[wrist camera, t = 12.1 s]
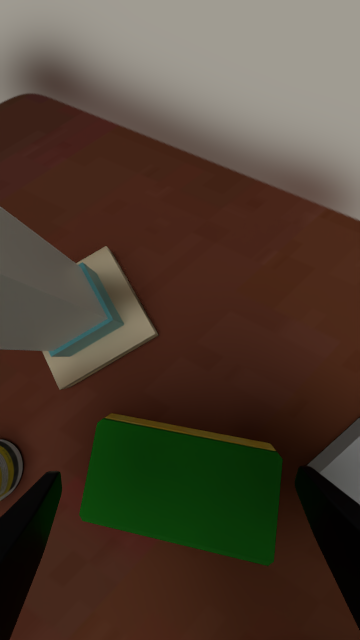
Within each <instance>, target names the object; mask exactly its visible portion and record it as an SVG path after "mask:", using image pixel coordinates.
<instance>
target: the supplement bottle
mask: <svg viewBox="0 0 360 640" xmlns="http://www.w3.org/2000/svg"><path fill="white" fill-rule="evenodd" d="M22 470H23V462H22V457H21V454H20V452H19V451H18V449H17V448H16V447H15V446H14V445H13V444H12V443H10V442H8V441H6V440H1V439H0V501H1V500H3V499H4V498H5V497H7V496H8V495H9V494H10V493H11V492H12V491H13V490H14V489H15V488H16V486H17V484H18V482H19V480H20V478H21V475H22Z"/></svg>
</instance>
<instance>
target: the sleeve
mask: <svg viewBox="0 0 360 640" xmlns="http://www.w3.org/2000/svg"><path fill="white" fill-rule="evenodd" d="M123 325H124V323H123V321H122V319H121V317H120V315H119V314H118V312H117V310H116V308H115V306H114V304H113V303H112V301H111V299H110V297H109V295H108V293H107V291H106V290H105V288H104V286H103V284H102V282H101V280H100V279H99V277H98V275H97V273H95V272H94V271H93V270H92V269H90V268H89V267H88V266H87V265H86V264H84V263H83V262H82V263H80V264H78V265H77V264H76V263H75V262H73V261H72V260H71V259H69V258H68V257H67V256H65V255H64V254H63V253H61V252H60V251H59V250H57V249H56V248H55V247H53V246H52V245H51V244H49V243H48V242H47V241H45V240H44V239H43V238H41V237H40V236H39V235H37V234H36V233H35V232H33V231H32V230H31V229H29V228H28V227H27V226H26V225H24V224H23V223H22V222H20V221H19V220H18V219H16V218H15V217H14V216H12V215H11V214H10V213H8V212H7V211H6V210H4V209H3V208H2V207H0V349H7V350H37V351H49V354H50V356H51V357H70V356H72V355H74V354H76V353H77V352H79V351H81V350H82V349H84V348H86V347H87V346H89V345H91V344H93V343H94V342H96V341H98V340H99V339H101V338H103V337H104V336H106V335H108V334H110V333H111V332H113V331H115V330H116V329H118V328H120V327H121V326H123Z"/></svg>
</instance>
